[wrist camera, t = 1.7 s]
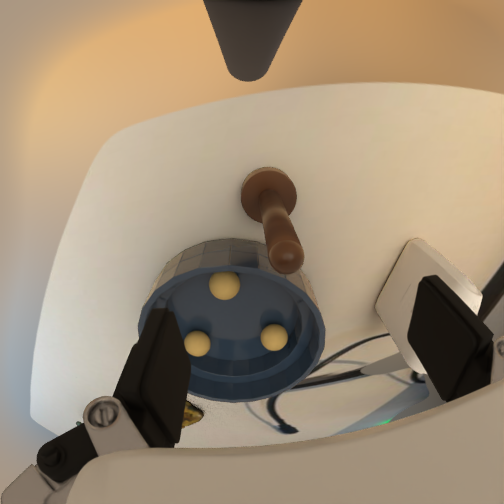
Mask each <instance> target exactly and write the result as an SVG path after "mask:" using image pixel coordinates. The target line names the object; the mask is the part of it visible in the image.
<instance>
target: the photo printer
mask: <svg viewBox="0 0 504 504" xmlns="http://www.w3.org/2000/svg"><path fill="white" fill-rule="evenodd" d="M430 275H438V276H439V277H440V278H441V279H442V280H443V281H444V282H445V283H446V284H447V285H448V286H449V287H450V288H451V289H452V290H453V291H454V292H455V293H456V294H457V295H458V296H459V297H460V298H461V299H462V300H463V301H464V302H465V303H466V304H467V305H468V307H469V308H470V309H471V310H472V311H473V312H474V313H475V314H476V315H477V313H478V311H479V308H480V304H481V300H482V294H481V292H480V291H479V290H478V289H477V288H476V286H475V284H474V283H473V282H472V281H471V280H470V279H469V278H468V277H467V276H466V275H465V274H464V273H463V272H461V271H460V270H459V269H458V268H457V267H456V266H455V265H454V264H452V263H451V262H450V261H449V260H448V259H446V258H445V257H444V256H443V255H442V254H440V253H439V252H438V251H437V250H436V249H434V248H433V247H432V246H431V245H429V244H428V243H427V242H426V241H424V240H422V239H419V238H417V239H413V240H410V241H409V242H408V243H407V245H406V246H405V248H404V250H403V252H402V254H401V256H400V257H399V259H398V261H397V263H396V265H395V267H394V269H393V271H392V273H391V274H390V276H389V278H388V280H387V282H386V284H385V286H384V288H383V290H382V292H381V293H380V295H379V297H378V300H377V302H376V304H375V309H376V311H377V313H378V315H379V316H380V318H381V320H382V322H383V323H384V325H385V327H386V328H387V330H388V332H389V333H390V335H391V337H392V339H393V340H394V342H395V344H396V345H397V347H398V349H399V351H400V353H401V354H402V356H403V358H404V360H405V361H406V363H407V364H408V365H409V366H410V367H411V368H412V369H413V370H415V371H416V372H418V373H420V374H422V373H425V374H427V372H426V371H425V369H424V367H423V365H422V364H421V362H420V360H419V359H418V357H417V355H416V354H415V352H414V350H413V349H412V347H411V346H410V344H409V342H408V340H407V332H408V328H409V324H410V320H411V316H412V312H413V307H414V303H415V298H416V293H417V288H418V283H419V282H420V281H421V280H422V278H423V277H424V276H430Z"/></svg>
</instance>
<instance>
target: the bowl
mask: <svg viewBox="0 0 504 504" xmlns="http://www.w3.org/2000/svg"><path fill="white" fill-rule="evenodd" d="M226 271H231V272H234V273H235V274H236V275H237V276H238V278H239V280H240V289H239V291H238V293H237V294H236V295H235V296H234V297H233V298H231V299H228V300H221V299H218V298H216V297H215V296H214V295H213V294H212V293H211V291H210V288H209V281H210V278H211V276H212V275H213V274H214V273H216V272H226ZM153 308H168V309H169V311H173V312H174V314H175V317H176V320H177V323H178V326H179V329H180V333H181V336H182V339H183V342H184V340H185V338H186V336H187V335H188V334H189V333H190V332H192V331H202V332H204V333H205V334H207V335H208V337H209V339H210V343H211V345H210V349H209V351H208V352H207V353H206V354H205V355H203V356H199V357H197V356H193V355H191V354H189V353H188V352H187V354H188V357H189V360H190V363H191V376H190V381H189V387H188V393H189V394H191V395H194V396H197V397H201V398H204V399H208V400H212V401H220V402H230V403H238V402H253V401H257V400H262V399H266V398H270V397H272V396H276V395H278V394H280V393H282V392H285V391H287V390H289V389H291V388H292V387H294V386H295V385H297V384H298V383H299V382H301V381H302V380H303V379H305V378H306V377H307V376H308V374H309V373H310V372H311V371H312V370H313V368H314V367H315V366H316V365H317V363H318V361H319V359H320V357H321V354H322V352H323V350H324V347H325V331H326V330H325V326H324V322H323V319H322V316H321V313H320V310H319V307H318V304H317V301H316V298H315V296H314V293H313V290H312V287H311V285H310V282H309V280H308V278H307V277H306V276H305V274H304V273H303V272H302V270H301V269H299V270H298V271H297V272H295V273H293V274H289V275H284V274H280V273H278V272H276V271H275V270H274V269H273V268H272V267H271V265H270V263H269V258H268V252H267V246H266V245H263V244H261V243H258V242H255V241H247V240H240V239H223V240H214V241H207V242H204V243H201V244H198V245H196V246H193V247H191V248H188V249H186V250H184V251H182V252H181V253H180V254H178V255H177V256H176V257H174V258H173V259H172V260H171V261H169V262H168V263H167V264H166V266H165V267H164V268H163V270H162V271H161V273H160V274H159V276H158V277H157V279H156V281H155V283H154V285H153V287H152V289H151V291H150V293H149V295H148V297H147V299H146V301H145V303H144V306H143V308H142V311H141V315H140V319H139V323H138V334H139V338H140V335H141V333H142V331H143V328H144V326H145V324H146V321H147V319H148V317H149V314H150V312H151V310H152V309H153ZM271 324H278V325H281V326H282V327H283V328H284V329H285V330H286V332H287V334H288V340H287V343H286V345H285V346H284V347H283V348H282V349H280V350H277V351H272V350H268V349H267V348H265V347H264V346H263V344H262V342H261V333H262V331H263V329H264V328H265V327H267V326H268V325H271Z"/></svg>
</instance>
